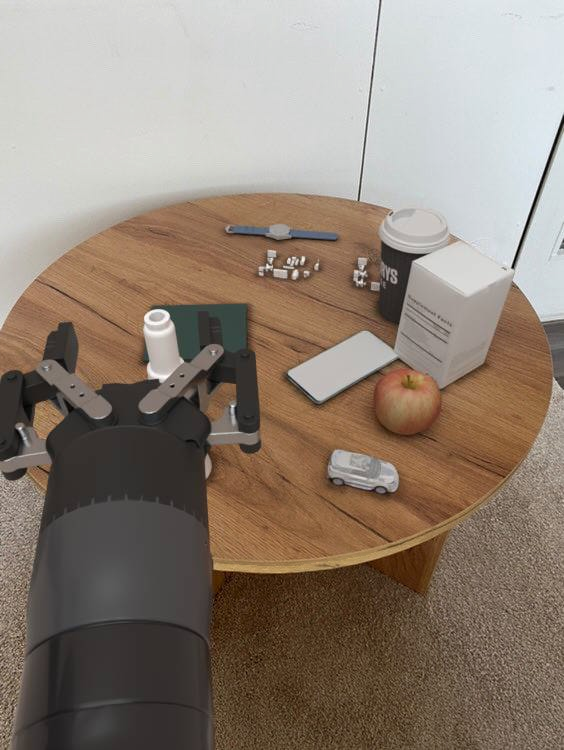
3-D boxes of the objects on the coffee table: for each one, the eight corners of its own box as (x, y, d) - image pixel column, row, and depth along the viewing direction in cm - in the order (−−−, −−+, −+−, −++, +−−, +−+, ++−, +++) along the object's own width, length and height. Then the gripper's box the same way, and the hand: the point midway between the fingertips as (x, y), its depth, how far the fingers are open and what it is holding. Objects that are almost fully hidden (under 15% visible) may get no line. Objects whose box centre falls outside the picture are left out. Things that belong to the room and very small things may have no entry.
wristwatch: (227, 224, 105) (226, 219, 104) (338, 232, 103) (338, 227, 102) (222, 237, 102) (222, 232, 101) (337, 245, 100) (337, 240, 99)
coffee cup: (398, 284, 92) (413, 195, 81) (446, 313, 87) (468, 222, 76) (355, 307, 88) (365, 217, 77) (402, 339, 82) (420, 247, 72)
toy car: (396, 498, 63) (400, 482, 61) (324, 483, 65) (325, 467, 63) (399, 471, 66) (403, 455, 64) (330, 457, 67) (332, 441, 65)
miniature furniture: (269, 251, 98) (269, 244, 97) (419, 271, 94) (420, 263, 93) (259, 275, 93) (258, 267, 92) (416, 297, 89) (417, 289, 88)
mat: (143, 362, 79) (142, 359, 78) (153, 308, 87) (152, 305, 87) (246, 359, 79) (246, 357, 79) (246, 306, 88) (246, 303, 87)
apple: (358, 430, 70) (365, 383, 65) (384, 390, 75) (393, 343, 70) (420, 457, 67) (433, 411, 62) (444, 413, 72) (458, 367, 67)
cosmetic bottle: (209, 491, 64) (187, 339, 49) (154, 491, 64) (114, 338, 49) (213, 448, 68) (195, 295, 53) (162, 447, 68) (128, 295, 53)
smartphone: (283, 373, 76) (366, 328, 83) (283, 375, 77) (365, 331, 83) (317, 403, 72) (401, 354, 79) (317, 406, 73) (401, 357, 79)
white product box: (435, 329, 84) (460, 237, 74) (485, 364, 79) (519, 270, 68) (390, 353, 80) (410, 259, 69) (439, 391, 75) (468, 295, 64)
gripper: (283, 486, 24) (244, 268, 36) (-79, 530, 23) (3, 287, 34) (283, 573, 29) (249, 358, 41) (-12, 613, 28) (40, 378, 39)
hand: (137, 326), depth 37 cm, fingers open, 8 cm apart
